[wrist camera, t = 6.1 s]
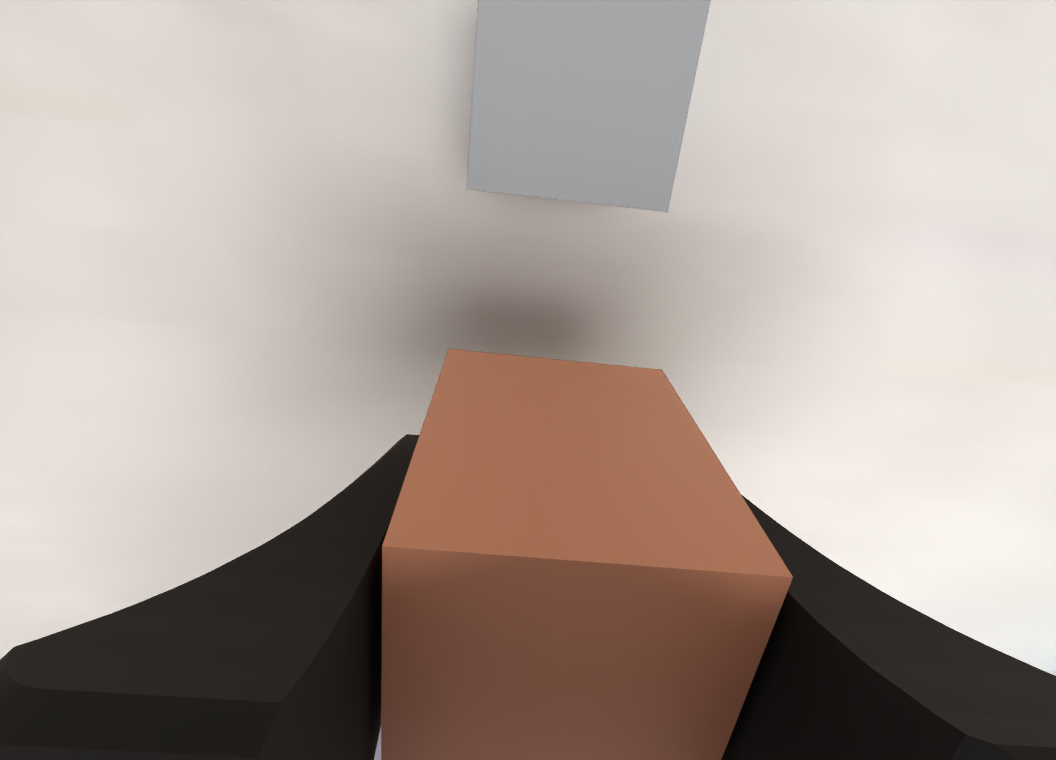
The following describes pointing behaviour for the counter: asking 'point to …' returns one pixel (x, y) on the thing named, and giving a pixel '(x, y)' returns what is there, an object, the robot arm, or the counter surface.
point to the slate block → (583, 98)
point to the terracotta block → (568, 572)
